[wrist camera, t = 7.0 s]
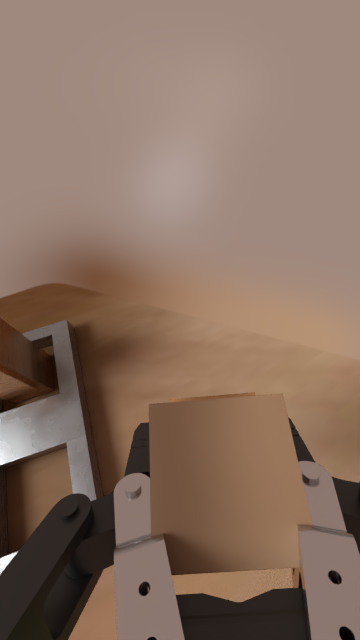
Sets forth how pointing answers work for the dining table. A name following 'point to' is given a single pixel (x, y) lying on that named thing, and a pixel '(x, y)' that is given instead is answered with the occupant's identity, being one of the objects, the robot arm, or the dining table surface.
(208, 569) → the tan wooden block
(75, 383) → the gray block holder
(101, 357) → the dining table surface
